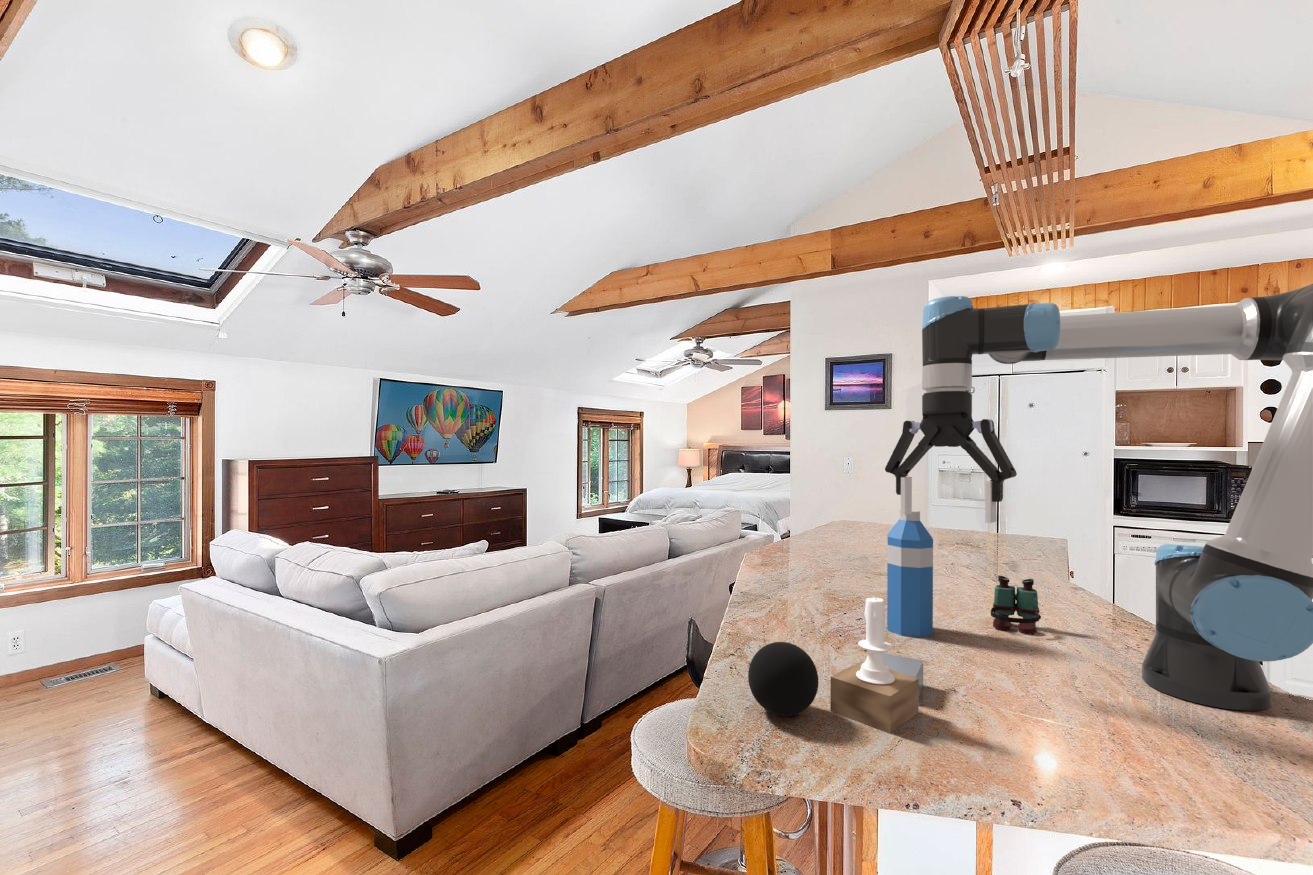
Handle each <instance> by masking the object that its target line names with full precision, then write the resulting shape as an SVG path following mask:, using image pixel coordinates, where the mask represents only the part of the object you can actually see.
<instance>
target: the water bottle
mask: <svg viewBox="0 0 1313 875" xmlns="http://www.w3.org/2000/svg"><path fill="white" fill-rule="evenodd" d="M886 544H887V545H886V546H887V549H886V550H887V554H886V555H887V559H886V560H887V564H886V565H887V568H886V570H887V572H886V573H887V575H886V576H887V577H886V579H887V581H886V582H887V583H886V585H887V586H886V587H887V588H886V590H887V591H886V597H887V598H886V612H887V613H886V627H887V628H886V630H887V631H888V632H891V633H894V634H897V635H899V636H902V637H903V636H906V637H912V638H925V637H930V636H933V635H934V633H933V632H934V630H933V629H934V626H933V624H934V617H933V614H934V606H933V605H934V539H933V536H932V534H930V532H929V530H927V528H926V527H925V525H924V524H923V523H922V521H921V510H918V509H912V514H907V515H901V509H899V520H898V521H897V522H896V523H895V524H894V526H893V527H892V528H891V529H890V531H889V532H887V543H886Z"/></svg>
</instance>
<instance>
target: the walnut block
mask: <svg viewBox="0 0 1313 875" xmlns="http://www.w3.org/2000/svg"><path fill="white" fill-rule="evenodd" d="M863 663H865V662H864V661H858V662H856V663H855V664H853V665H851V666H849V667H847V668H845V669H843V670H841V671H839V672H837V673H835V674H833V675H831V676H830V708H829V710H830V712H832V713H836V714H838V715H840V716H843V717H846V718H848V719H851V720H854V721H856V722H858V723H861V724H864V725H866V726H867V725H868V726H869V727H872V728H875V729H878V730H880V731H883V732H885V733H888V734H891V733H893V732H894V731H895V730H897V729H899V727H902V725H904V724H905V723H906V722H908V721H909V720H911V719H912V718H913V717H914V716H916V715H917V714H919V712H920V711H919V709H920V708H919V707H920V706H919V703H920V702H919V700H920V699H919V697H920V694H919V678H916V677H912V676H909V675H906V674H902V673H899V672H896V671H892V670H890V674H891V675H893V676H894V678H895V681H894V682H893V683H891V684H885V685H879V684H872V683H868V682H865V681H862V680H860V679H859V678H858V677H857V676H856V673H857V671H859V670H861V665H862V664H863Z"/></svg>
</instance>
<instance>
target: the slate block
mask: <svg viewBox="0 0 1313 875" xmlns="http://www.w3.org/2000/svg"><path fill="white" fill-rule="evenodd" d="M882 657H883V660H884V662H885V664H886V666H888V667H889V670H892V671H896V672H899V673H902V674H906V675H909V676H912V677H916V678H919V695H920V693H921V692H922V689H923V687H924V659H917V658H912V657H906V656H901V655H897V654H891V653H887V652H884V653H882ZM865 661H866V659H865V660H864V661H863V662H865Z"/></svg>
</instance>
